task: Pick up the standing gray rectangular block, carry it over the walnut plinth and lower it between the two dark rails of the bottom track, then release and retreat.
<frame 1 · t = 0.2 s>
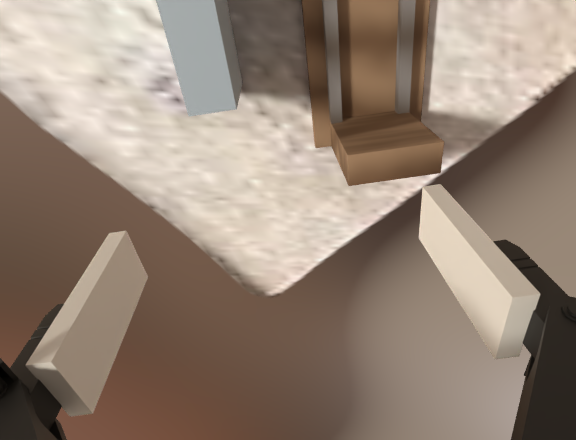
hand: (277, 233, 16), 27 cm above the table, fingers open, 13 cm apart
cabinet base: (364, 33, 36), on the table
gray rectangular block: (212, 33, 35), on the table
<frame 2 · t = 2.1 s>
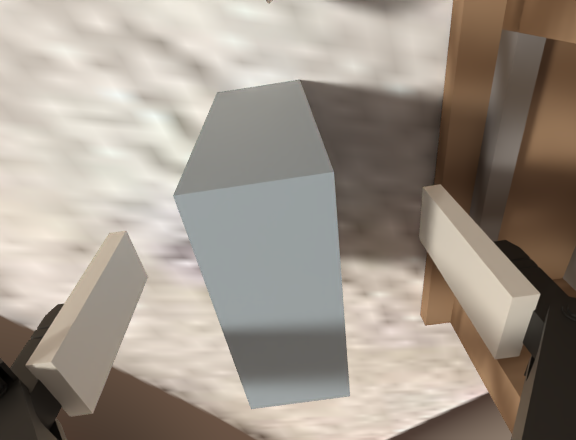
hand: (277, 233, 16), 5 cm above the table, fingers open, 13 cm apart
cabinet base: (538, 171, 20), on the table
gray rectangular block: (274, 178, 20), on the table
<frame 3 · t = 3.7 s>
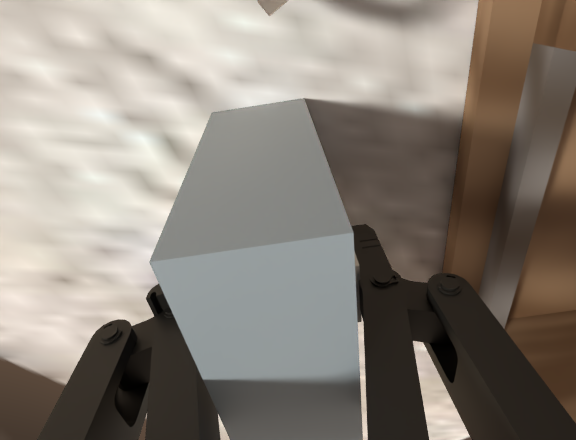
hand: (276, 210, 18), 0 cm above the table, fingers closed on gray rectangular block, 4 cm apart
cabinet base: (565, 195, 19), on the table
gray rectangular block: (275, 204, 18), on the table, touching gripper
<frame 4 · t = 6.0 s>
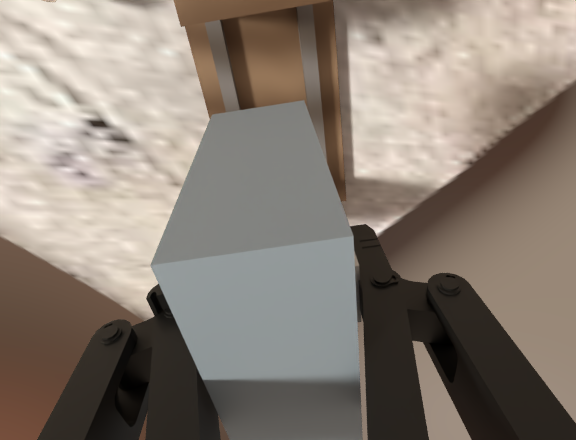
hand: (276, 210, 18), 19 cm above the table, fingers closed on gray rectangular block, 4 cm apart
cabinet base: (273, 104, 33), on the table
gray rectangular block: (275, 206, 18), point 18 cm above the table, touching gripper
when the fingers open (4 cm above the table, at t = 8.4 s): gray rectangular block drops 2 cm, resting on cabinet base.
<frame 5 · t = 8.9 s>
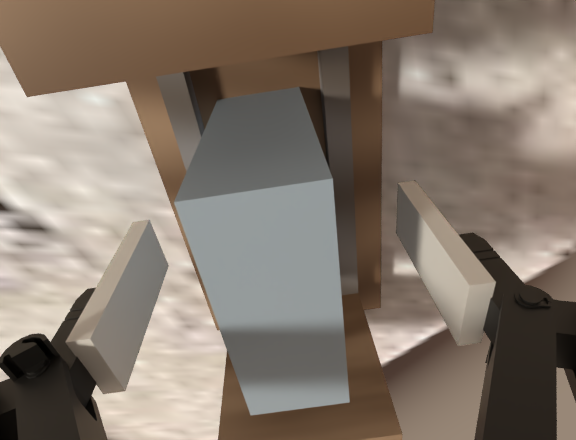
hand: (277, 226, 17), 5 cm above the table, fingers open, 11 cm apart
cabinet base: (274, 177, 21), on the table
gray rectangular block: (274, 184, 20), point 1 cm above the table, touching cabinet base
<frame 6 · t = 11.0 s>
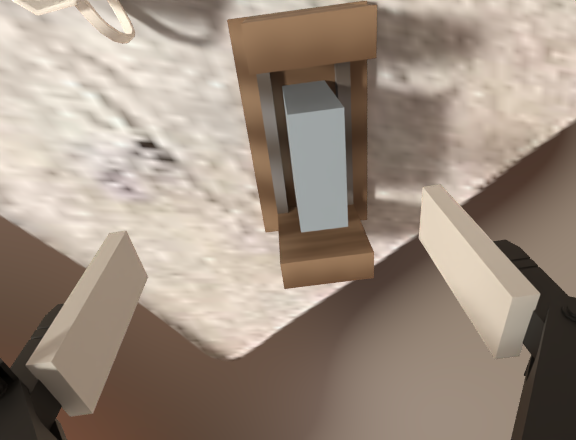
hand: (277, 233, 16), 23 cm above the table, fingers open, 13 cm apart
cabinet base: (307, 132, 37), on the table
gray rectangular block: (307, 134, 36), point 1 cm above the table, touching cabinet base
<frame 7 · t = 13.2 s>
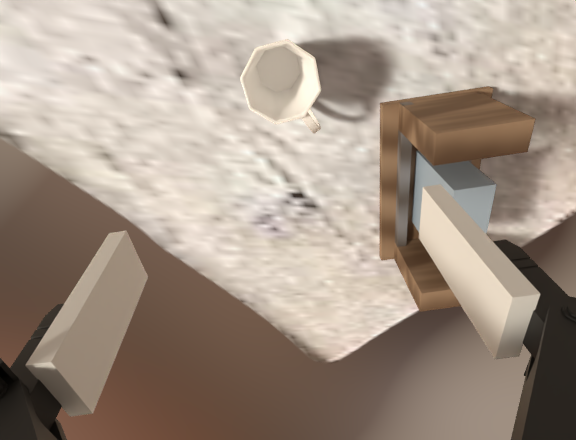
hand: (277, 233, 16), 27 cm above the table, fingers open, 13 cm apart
cabinet base: (426, 182, 46), on the table
cup: (286, 79, 38), on the table
gray rectangular block: (429, 185, 45), point 1 cm above the table, touching cabinet base
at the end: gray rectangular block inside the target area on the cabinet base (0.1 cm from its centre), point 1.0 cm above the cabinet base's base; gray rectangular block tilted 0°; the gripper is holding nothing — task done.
